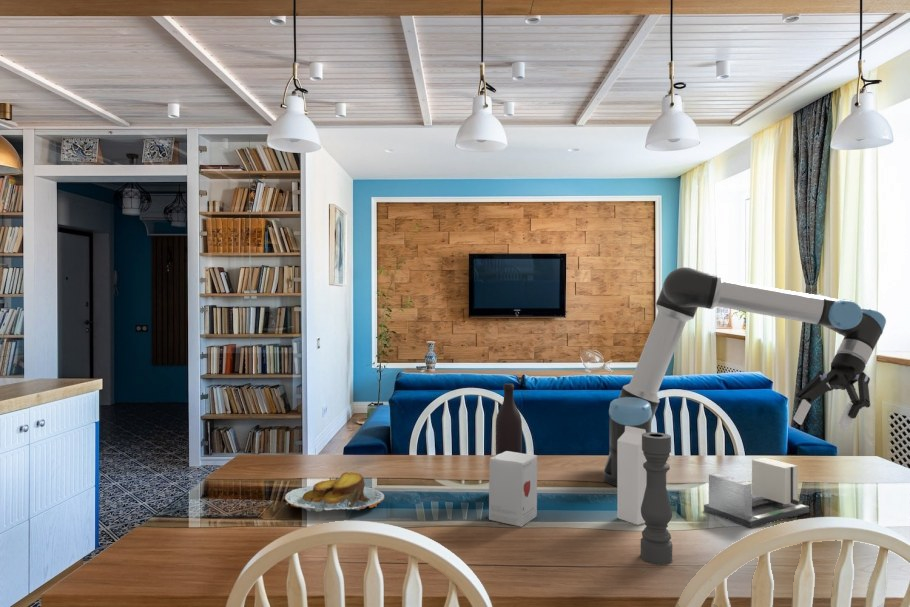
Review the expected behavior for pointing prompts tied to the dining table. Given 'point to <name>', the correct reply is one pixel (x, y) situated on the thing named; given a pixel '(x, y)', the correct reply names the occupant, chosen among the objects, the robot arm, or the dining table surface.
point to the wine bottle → (508, 424)
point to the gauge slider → (775, 480)
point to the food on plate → (336, 494)
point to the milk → (630, 475)
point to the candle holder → (656, 500)
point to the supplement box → (513, 488)
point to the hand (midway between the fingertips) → (818, 424)
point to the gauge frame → (745, 503)
